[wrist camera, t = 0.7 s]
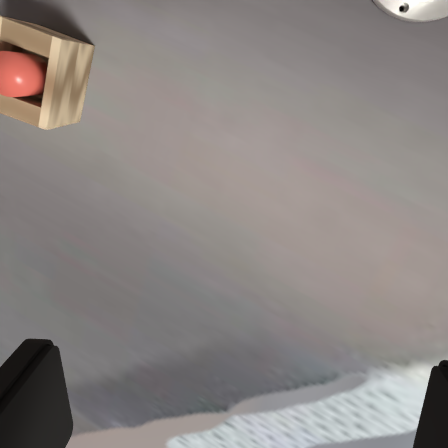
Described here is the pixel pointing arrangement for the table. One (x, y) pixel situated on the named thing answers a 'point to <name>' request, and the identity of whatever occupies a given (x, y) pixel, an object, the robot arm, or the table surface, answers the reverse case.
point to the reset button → (21, 74)
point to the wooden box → (48, 74)
